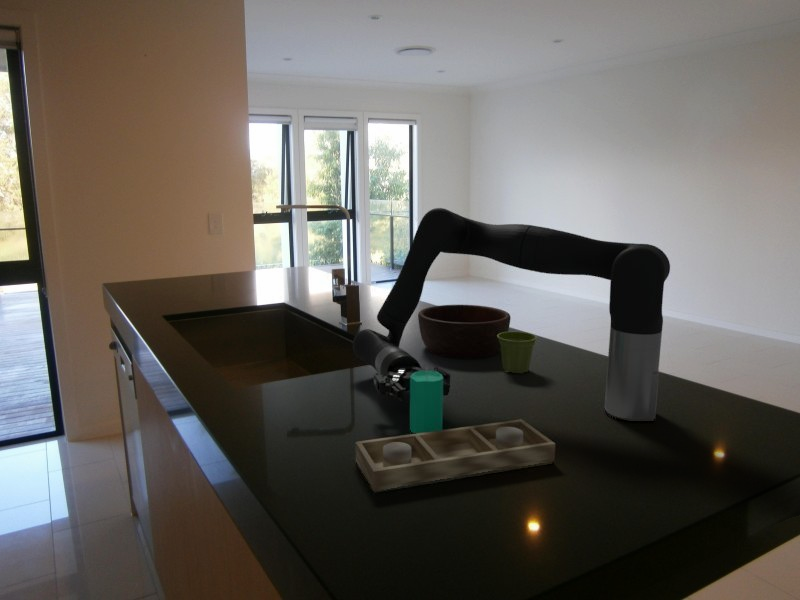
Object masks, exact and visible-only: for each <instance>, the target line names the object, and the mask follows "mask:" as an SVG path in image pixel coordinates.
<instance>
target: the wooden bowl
mask: <svg viewBox="0 0 800 600" xmlns="http://www.w3.org/2000/svg"><path fill="white" fill-rule="evenodd" d="M510 314H511V313H509V312H508V311H506V310H503V309H500V308H497V307H491V306H487V305H486V306H485V305H476V304H443V305H435V306H434V305H433V306H430V307H426V308H422V309H421V310H420V311H418V315H417V316H418V317H417V318H418V319H417V320H418V327H419V332H420V336H421V337H420V338H421V340H422V342H423V343H424V346H425V348H426V349H427V350H428V351H429V352H431V353H432V354H434V355H437V356H440V357H445V358H452V359H453V358H454V359H465V358H470V359H482V358H481V357H483V358H488V357H491V355H492V356H495V355H496V354H498V353H499V352H501V345H500V343H499V339H498V338H497V335H498V334H499V333H503V332H509V330H510V324H511V315H510ZM494 354H495V355H494ZM487 356H488V357H487Z"/></svg>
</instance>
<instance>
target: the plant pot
mask: <svg viewBox="0 0 800 600" xmlns="http://www.w3.org/2000/svg"><path fill="white" fill-rule="evenodd" d="M497 338H498V339H499V343H500V345H501V350H500V352H501V360H502V369H504V370H505V371H504V370H503V371H504V372H506V371H508V372H509V373H513V374H514V373H522V374H524V373H523V372H526V373H527V372H529V371H528V370H530V365H531V359H532V354H533V349H534V345H535V342H536V340H537V339H538V336H537V335H536V334H533V333H529V332H526V331H525V332H524V331H508V332H503V333H499V334H498V335H497ZM508 372H507V373H508Z"/></svg>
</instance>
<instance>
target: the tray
mask: <svg viewBox="0 0 800 600" xmlns="http://www.w3.org/2000/svg"><path fill="white" fill-rule="evenodd" d="M354 447H355V463H356V462H357V464H358V465H357V464H356V465H357V467H358V466H359V467H358V469H359V468H360V469H361V471H362V472H361V471H360V472H361V474H362V473H363V474H364V476H365V478H366V479H367V481H368V483H369V484H370V486H371V488H372V490H373V491H374V492H375V491H381V490H386V489H391V488H397V487H401V486H408V485H413V484H417V483H423V482H429V481H435V480H440V479H447V478H454V477H460V476H465V475H471V474H476V473H482V472H488V471H493V470H502V469H508V468H515V467H522V466H528V465H534V464H539V463H547V462H551V461H554V462H555V460H556V459H555V457H556V443H555V442H554V441H552V440H551V439H549V438H548V437H547V436H546V435H545V434H543V433H541V432H540V431H538V430H537V429H536V428H534V427H533V426H531V425H530V424H529V423H527V422H526V421H524V420H523V419H521V418H519V419H515V420H506V421H500V422H491V423H484V424H478V425H477V424H476V425H469V426H461V427H456V428H447V429H442V430H439V431H432V432H424V433H417V434H411V433H410V434H404V435H397V436H389V437H382V438H381V437H380V438H374V439H368V440H367V439H366V440H365V439H364V440H360V441H355V446H354ZM360 469H359V470H360ZM363 474H362V475H363ZM364 476H363V477H364ZM365 478H364V479H365ZM366 479H365V480H366ZM367 481H366V482H367ZM368 483H367V484H368ZM370 486H369V487H370ZM371 488H370V489H371ZM372 490H371V491H372ZM373 491H372V492H373Z"/></svg>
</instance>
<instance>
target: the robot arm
mask: <svg viewBox="0 0 800 600" xmlns="http://www.w3.org/2000/svg"><path fill="white" fill-rule="evenodd" d="M440 253H444V254H455V255H467V256H477V257H484V258H487V259H490V260H493V261H496V262H498V263H501V264H504V265H507V266H510V267H513V268H514V267H515V268H518V269H521V270H526V271H530V272H536V273H539V274H540V273H542V274H549V275H550V274H551V275H564V276H565V275H566V276H569V275H570V276H590V277H595V278H601V279H605V280H608V281H610V283H609V285H610V287H609V306H608V309H609V316H610V329H609V340H608V342H609V343H608V352H607V353H608V354H607V367H606V368H607V370H606V384H605V397H604V408H605V410H606V411H607V412H608V413H610V414H612V415H614V416H617V417H621V418H628V419H647V418H649V419H655V420H656V413H657V405H658V404H657V403H658V393H659V381H660V380H659V379H660V373H659V370H660V369H659V368H660V359H661V358H660V357H661V347H662V335H663V326H664V317H663V299H664V298H663V297H664V288H665V286H664V285H665V282H666V280H667V279H668V277H669V275H670V271H671V264H670V260H669V257H668V256H667V255H666V253H665V252H664V251H663V250H662V249H660V248H659V247H657V246H656V245H652V244H648V243H633V242H632V243H631V242H630V243H628V242H619V241H618V242H616V241H615V242H614V241H605V240H601V239H600V240H599V239H595V238H594V239H593V238H591V237H587V236H584V235H580V234H577V233H572V232H568V231H563V230H558V229H554V228H549V227H543V226H539V225H531V224H523V223H521V224H519V223H509V224H507V223H506V224H491V223H486V222H482V221H477V220H474V219H470V218H468V217H464V216H462V215H460V214H458V213H455V212H453V211H451V210H449V209H446V208H442V207H436V208H432V209H430V210H428V211H427V212H426V213H425V214H424V215H423V217H421V219H420V222H419V224H418V225H417V228H416V232H415V234H414V237H413V238H412V243H411V245H410V247H409V250H408V252H407V255H406V258H405V261H404V262H403V264H402V268H401V270H400V271H399V274H398V276H397V278H396V280H395V282H394V284H393V286H392V287H391V290H390V292H389V293H388V295H387V297H386V299H385V300H384V302H383V303H382V305H381V307H380V309H379V311H378V312H377V315H376V320H377V321H378V323H379V324H380V325H381V326H383V327H384V328H385V329H386V330H388V334H387V335H384V334H382V333H380V332H377V331H375V330H373V329H369V328H364V329H362V330H360V331H359V332H358V333H356V335H355V336H354V338H353V341H352V351H353V353H354V356H355V357H357V359H359V360H361V361H362V362H364V363H366V364H368V365H370V366H371V367H373V369H374V370H375V371H376V373H374V374H373V387H374V388H375V390H376V391H377V392H378V394H379V396H386V394H388V393H389V395H390V396H393V397H394V398H395V399H398V400H399V401H400V402H401V401H405V392H407V391H410V377H411V375H412V374H413V373H414V372H418V371H426V369H424V368H422V366H421V364H420V363H419V360H417V358H415V357H413V356H412V355H411V354H409V353H408V352H407V351H406V350H404V349H403V348H401V347H400V344H401V340H402V337H403V334H404V331H405V328H406V326H407V325H408V322H409V321H410V320H411V317H412V316H413V314H414V312H415V311H416V309H417V307H418V305H419V302H420V300H421V297H422V294H423V290H424V285H425V282H426V278H427V276H428V272H429V271H430V269H431V267H432V265H433V263H434V262H435V260H436V258H437V257H438V256H439V255H440ZM433 371H437V372H439V373H440V374H442V376H443V397H445V396H448V395H449V393H450V388H451V374H450V373H448V372H447V371H445V370H444V369H443V368H440V367H438V366H435V367H433Z"/></svg>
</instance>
